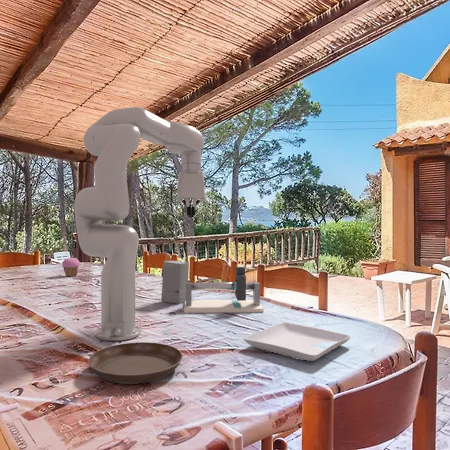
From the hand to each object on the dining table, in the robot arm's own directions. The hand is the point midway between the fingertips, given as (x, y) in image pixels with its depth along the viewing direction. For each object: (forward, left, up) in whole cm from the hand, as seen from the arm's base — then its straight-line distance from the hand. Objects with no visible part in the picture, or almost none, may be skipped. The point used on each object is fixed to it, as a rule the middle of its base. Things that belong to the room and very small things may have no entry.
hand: (191, 217), depth 156 cm
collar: (-7, -18, -29) cm, 35 cm away
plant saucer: (-64, +11, -34) cm, 73 cm away
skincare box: (+4, +6, -33) cm, 34 cm away
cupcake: (+67, +65, -33) cm, 99 cm away
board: (-7, -12, -33) cm, 36 cm away
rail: (-7, -12, -32) cm, 35 cm away
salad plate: (-51, -29, -34) cm, 68 cm away
